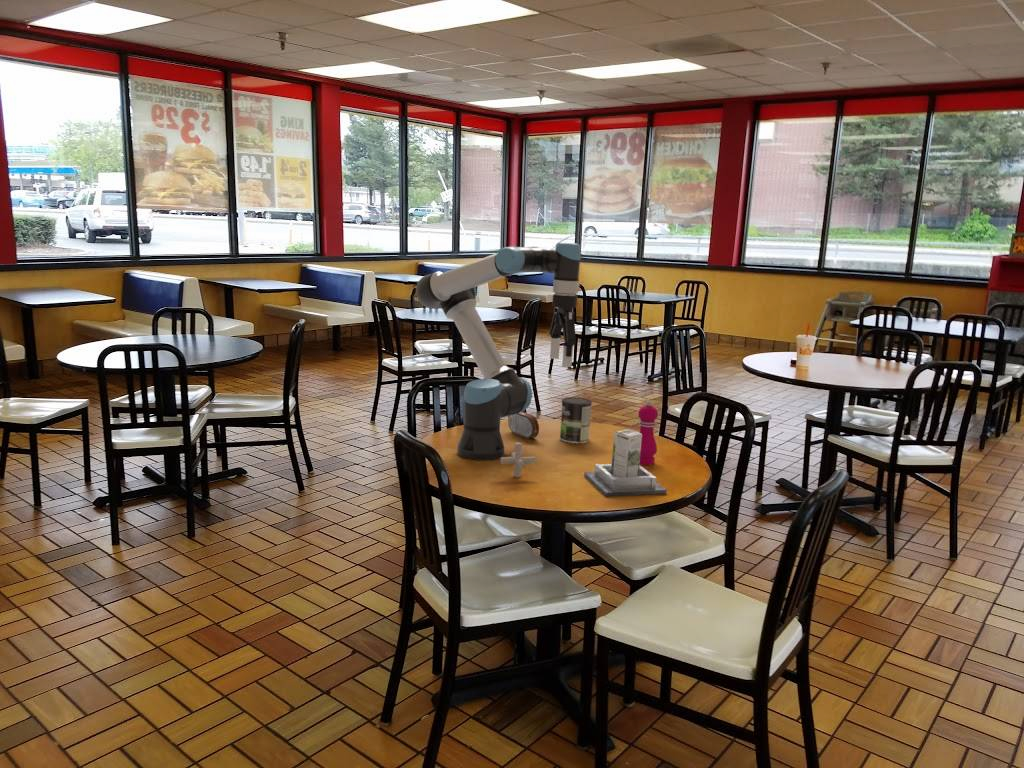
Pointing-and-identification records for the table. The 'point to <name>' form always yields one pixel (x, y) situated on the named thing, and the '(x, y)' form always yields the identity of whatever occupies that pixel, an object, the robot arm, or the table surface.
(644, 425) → the pepper mill
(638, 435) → the syrup box
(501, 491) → the table surface
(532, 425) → the tin
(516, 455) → the pipe connector
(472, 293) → the robot arm
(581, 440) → the coffee can
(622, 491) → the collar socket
